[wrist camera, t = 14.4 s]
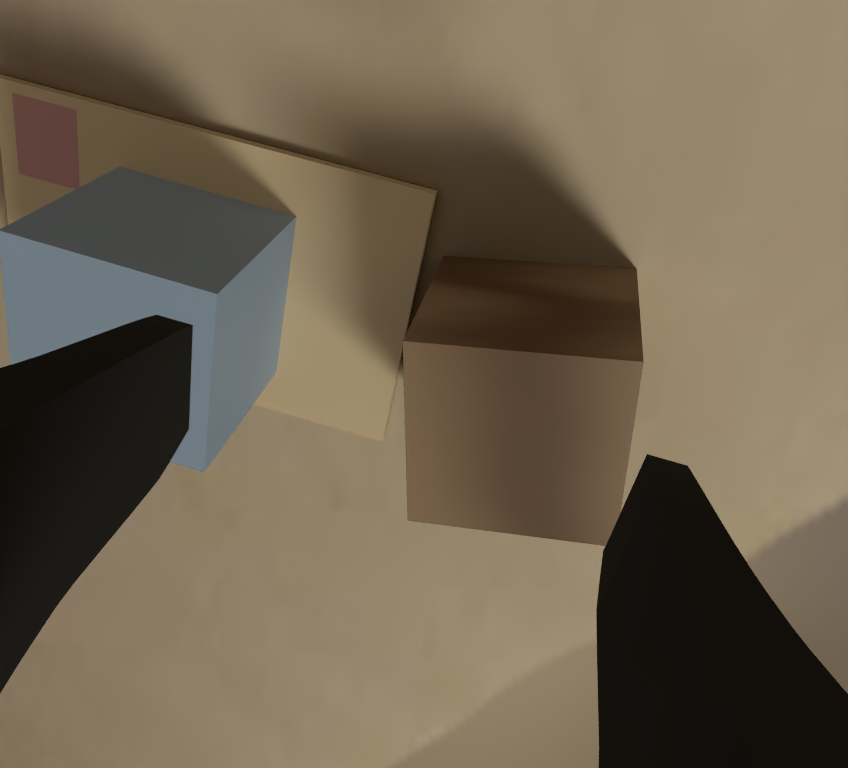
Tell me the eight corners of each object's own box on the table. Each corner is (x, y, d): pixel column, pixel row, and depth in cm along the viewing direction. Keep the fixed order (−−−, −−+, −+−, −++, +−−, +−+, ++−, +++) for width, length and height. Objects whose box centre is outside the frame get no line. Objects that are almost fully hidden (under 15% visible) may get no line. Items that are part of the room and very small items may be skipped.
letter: (24, 332, 25) (18, 337, 25) (0, 74, 21) (-7, 76, 20) (384, 436, 24) (382, 442, 24) (437, 190, 20) (435, 194, 20)
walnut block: (443, 411, 24) (407, 520, 19) (444, 254, 21) (402, 340, 17) (614, 429, 23) (615, 547, 18) (636, 267, 20) (643, 361, 16)
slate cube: (119, 325, 24) (15, 414, 20) (119, 166, 21) (-2, 230, 17) (276, 371, 24) (204, 472, 19) (296, 216, 21) (217, 294, 17)
